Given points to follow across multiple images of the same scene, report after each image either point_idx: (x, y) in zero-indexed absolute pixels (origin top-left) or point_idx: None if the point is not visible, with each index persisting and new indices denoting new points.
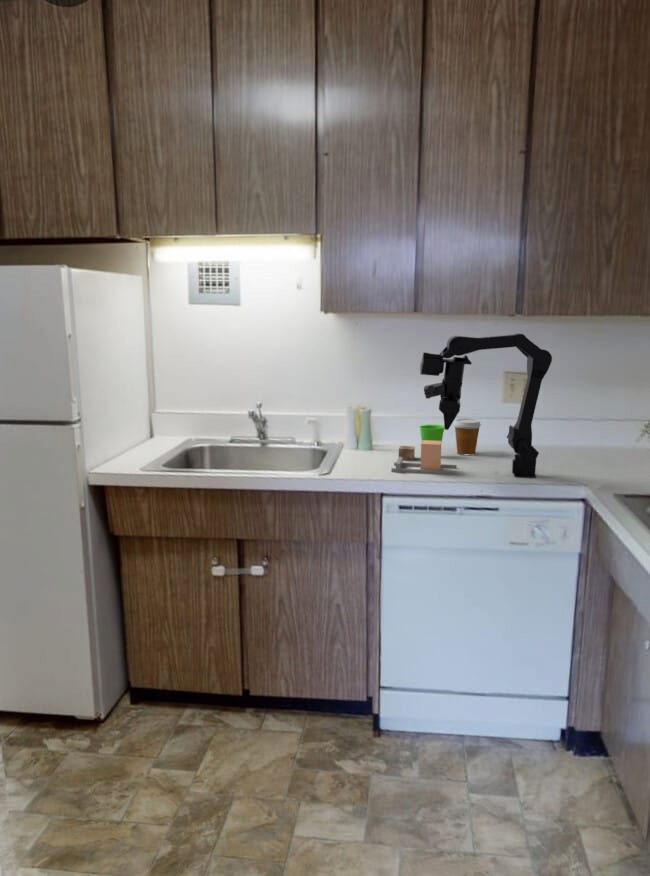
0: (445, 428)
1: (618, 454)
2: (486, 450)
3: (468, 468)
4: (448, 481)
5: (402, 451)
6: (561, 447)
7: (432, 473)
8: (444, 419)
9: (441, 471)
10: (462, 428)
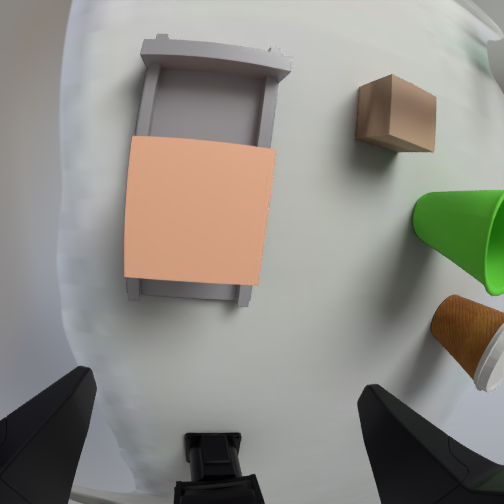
0: (75, 374)
1: (364, 497)
2: None
3: (284, 334)
4: (81, 260)
5: (384, 90)
6: None
7: None
8: (2, 424)
9: None
10: (488, 344)
